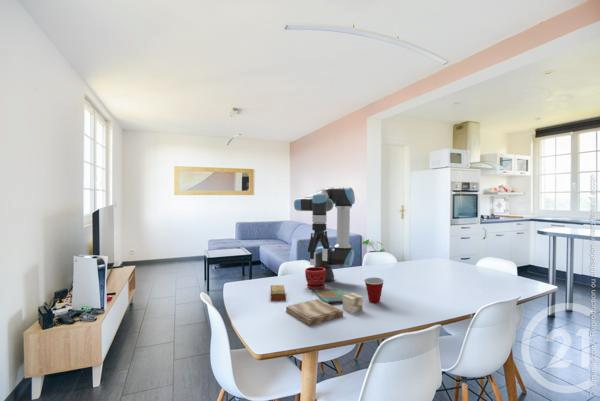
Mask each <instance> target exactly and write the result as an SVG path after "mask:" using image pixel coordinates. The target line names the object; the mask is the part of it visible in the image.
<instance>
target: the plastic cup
mask: <svg viewBox="0 0 600 401" xmlns="http://www.w3.org/2000/svg"><path fill="white" fill-rule="evenodd" d="M363 281H364V283H365V288H366V292H367V296H368V297H367V298H368V299H367V300H368V302H369V303H371V304H378V303H380V301H381V296H382V290H383V287H384V285H383V284H384V283H385V280H384V279H383V278H380V277H368V278H364V280H363Z"/></svg>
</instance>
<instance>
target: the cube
mask: <svg viewBox="0 0 600 401" xmlns="http://www.w3.org/2000/svg"><path fill="white" fill-rule="evenodd" d="M342 310H345V311H347V312H349V313H351V314H354V313H358V312H361V311H363V296H362V295H360V294H357V293H354V292H350V293H346V295H343V304H342Z"/></svg>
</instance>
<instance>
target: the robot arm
mask: <svg viewBox="0 0 600 401" xmlns="http://www.w3.org/2000/svg"><path fill="white" fill-rule="evenodd" d="M355 197H356V196H355V191H354V189H353V188H352V187H351V186H336V187H334V186H330V187H326V188H325V187H324V188H322V189H320V190H317V191H316V193H313V194H310V195H307V196H305V197H297V198H295V199H294V202H293V206H294V210H296V211H299V212H312V216H311V218H312V221H311V222H312V224H311V226H312V228H311V229H312V231H313V232H311V234H310V239H309V242H308V247H307V252H308V253H309V256H310V257H309V265H310V266H313V267H322V268H325V269H326V277H325V281H324V283H331V282H333V281H335V274H334V271H333V266H337V267H351V266H352V264H353V262H354V258H355V250H354V249H352V246H351V244H350V220H351V219H350V218H351V217H350V213H351V212H350V211H351V209H352V207H353V205H354V204H355V201H356V198H355ZM334 207H335V208H336V244H335V245H334V248H333V246H332V245H330V242H329V238H328V231H327V213H328V212H329V211H332V210H333V208H334ZM319 242H320V244H321V246H318V244H319Z"/></svg>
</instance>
